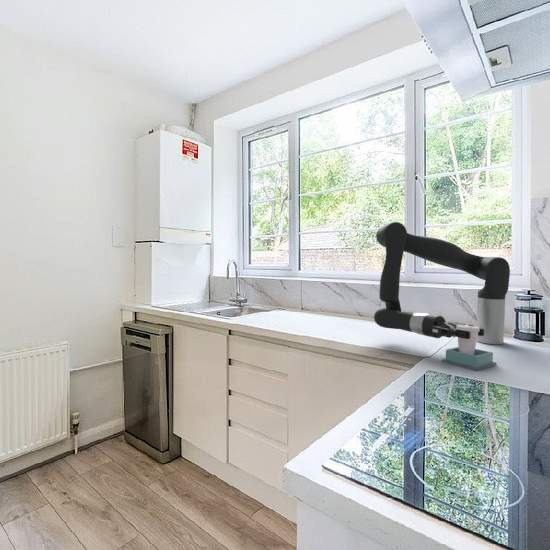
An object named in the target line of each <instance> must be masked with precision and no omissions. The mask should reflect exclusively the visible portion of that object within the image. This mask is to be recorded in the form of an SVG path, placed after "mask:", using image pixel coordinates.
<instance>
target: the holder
mask: <svg viewBox="0 0 550 550" xmlns="http://www.w3.org/2000/svg"><path fill="white" fill-rule="evenodd" d="M493 359H494V352H492V351H488V350H487V351H486V350H483V349H478V348H475V351H474V355H470V354H466V353H461V352H459V348H458V346H457V347H453V348H447V349H445V357H444V358H441V362H442V361H443V362H442V363H445V362H446V363H445V364H449V363H450V365H453V364H454V365H453V366H458V367H461V368H463V369H468V370H469V369H470V370H472V371H476V372H480V371H482V370H486V369H489V368H492V367H495V366H497V361H494V360H493ZM479 370H480V371H479Z"/></svg>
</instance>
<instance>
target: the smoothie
mask: <svg viewBox="0 0 550 550" xmlns="http://www.w3.org/2000/svg"><path fill="white" fill-rule="evenodd" d="M469 316H470V312H468V311H467V312H466V320H465V321H466V322H465V324H466V325H457V326H456V329H457V330H463V331H469V332H470V339H465V338H460V337H457V347H458V348H459V352H461V353H466V354H470V355H474V351H475V349H476V346H477V345H476V344H477V342H478V341H477V336H478V332H479V331H480V328H479V327H477V326H474V325H473V326H468V325H469V319H470V317H469Z"/></svg>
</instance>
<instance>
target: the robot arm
mask: <svg viewBox="0 0 550 550" xmlns="http://www.w3.org/2000/svg"><path fill="white" fill-rule="evenodd" d="M375 237H376V241H377V242H378V244H379V245H380V246H382V247H383V248H385V260H384V265H383V267H382V268H383V269H382V272H381V276H380V280H379V281H380V282H379V300H380V301H381V302H383V303H384V304H385V307H384V308H380V309H378V310H376V311H375V312H374V315H373V319H374V322H375V324H376V325H377V326H379V327H381V328H384V329H392V330H401V331H405V332H410V333H414V334H417V335H419V336H420V335H421V336H425V337H429V338H434V339H441V338H442V337H445V338H448V339H450V338H458V337H460V338H465V339H470V332H469V331H463V330H457V329H456V326H457V325H466V323H462V322H452V321H448V322H446V319H445V318H444V317H443V315H437V314H431V313H430V314H429V313H424V312H414V311H404V310H403V311H402V307H401V302H400V277H401V270H402V269H401V268H402V261H403V257H404V252H405V253H408V254H410V255H413V256H415V257H418V258H421V259H423V260H426V261H429V262H431V263H434V264H436V265H439V266H440V265H441V266H442V267H446V268H447V267H448V268H449V269H450V268H451V269H455V270H458V271H459V270H460V271H463V272H465V273H467V274H469V275H471V276H474V277H475V278H478V279H480V280H484V286H483V287H482V288H481V289H479V290H478V291H477V303H476V305H477V306H476V327H479V328H480V331H479V332H478V336H477V341H476V342H479V343H481V344H488V345H503V344H504V340H505V339H504V338H505V336H504V335H505V320H506V319H505V315H506V296H507V294H508V291H509V285H510V278H511V277H510V273H511V269H510V267H511V266H510V264H509V262H508V261H507V259H505V258H503V257H500V256H495V257H494V256H488V257H487V256H482V255H476V254H472V253H469V252H467V251H465V250H464V249H463V248H461V247H459V246H458V245H457V244H456V243H455V244H454V243H452V242H451V241H450V242H449V241H446V240H444V239H440V238H436V237H431V236H430V237H429V236H422V235H416V234H412V233H410V232H408V231H407V228H406V226H405V225H404V224H403V223H401V222H399V221H392V222H389V223H387V224H384V225H382V226H380V227H379V228H378V230H377V231H376V233H375ZM468 326H474V325H473V324H468Z"/></svg>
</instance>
